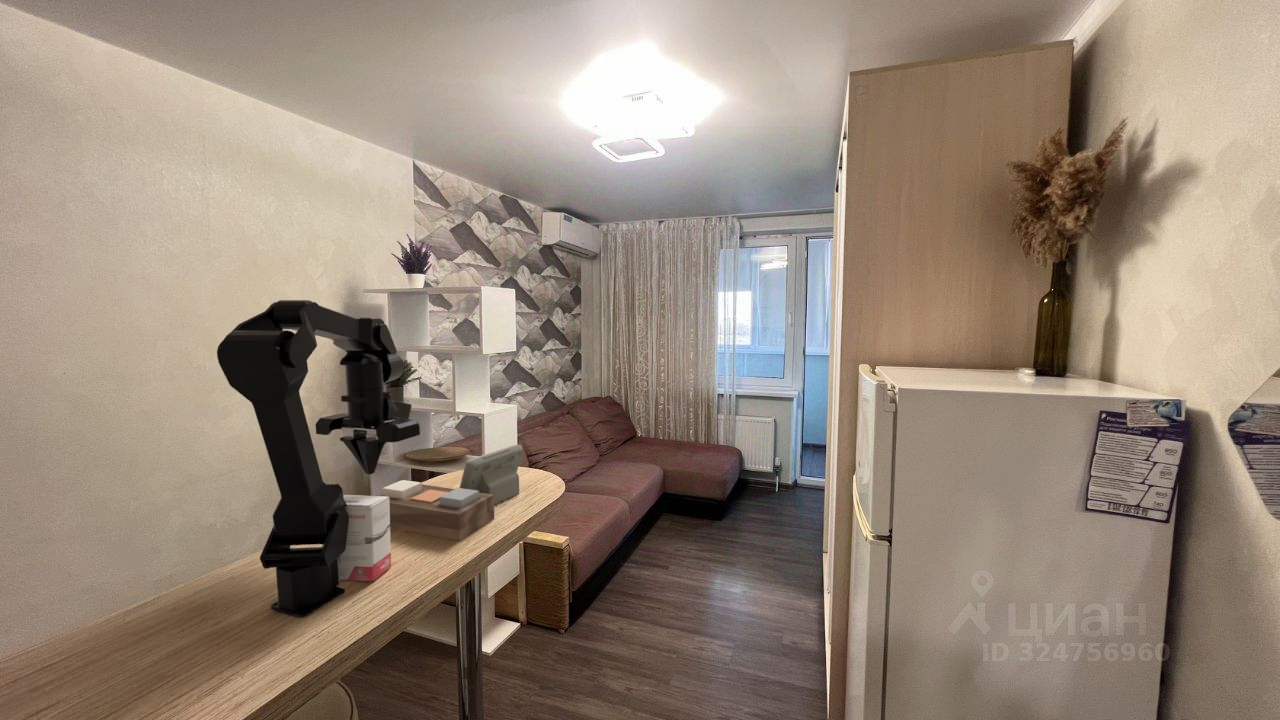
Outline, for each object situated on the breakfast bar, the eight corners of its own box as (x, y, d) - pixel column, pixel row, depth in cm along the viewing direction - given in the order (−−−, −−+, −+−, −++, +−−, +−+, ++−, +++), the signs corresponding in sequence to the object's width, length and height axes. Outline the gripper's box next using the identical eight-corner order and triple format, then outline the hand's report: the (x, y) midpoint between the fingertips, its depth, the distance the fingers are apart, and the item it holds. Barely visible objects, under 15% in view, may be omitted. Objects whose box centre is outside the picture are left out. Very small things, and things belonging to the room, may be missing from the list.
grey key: (462, 515, 89) (461, 500, 89) (440, 512, 91) (439, 496, 90) (479, 505, 94) (478, 490, 94) (458, 502, 95) (457, 487, 95)
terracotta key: (432, 516, 91) (431, 501, 91) (411, 513, 93) (410, 498, 93) (450, 506, 96) (449, 492, 96) (430, 503, 98) (429, 489, 98)
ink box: (393, 565, 78) (391, 494, 77) (373, 582, 73) (370, 506, 72) (344, 563, 79) (340, 492, 78) (320, 579, 74) (316, 504, 73)
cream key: (403, 506, 94) (402, 491, 93) (383, 502, 95) (382, 488, 95) (422, 496, 98) (421, 482, 98) (403, 493, 100) (402, 479, 100)
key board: (460, 541, 87) (459, 514, 86) (367, 523, 94) (366, 499, 93) (494, 518, 96) (493, 494, 96) (407, 504, 103) (406, 482, 103)
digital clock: (511, 483, 116) (510, 440, 115) (534, 492, 111) (533, 447, 110) (448, 503, 104) (446, 455, 103) (470, 514, 98) (468, 463, 97)
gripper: (440, 384, 90) (443, 465, 91) (364, 380, 96) (369, 456, 98) (392, 393, 80) (396, 485, 81) (310, 388, 86) (316, 473, 87)
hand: (370, 473), depth 87 cm, fingers closed
